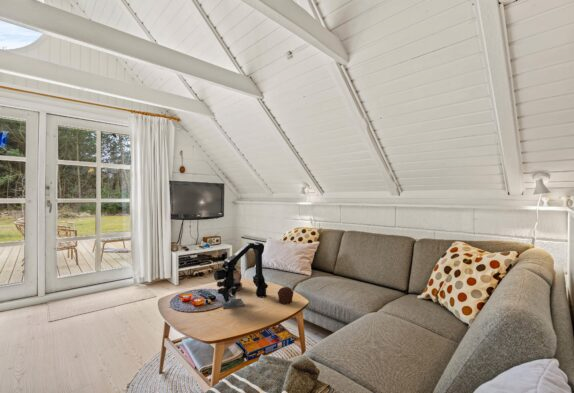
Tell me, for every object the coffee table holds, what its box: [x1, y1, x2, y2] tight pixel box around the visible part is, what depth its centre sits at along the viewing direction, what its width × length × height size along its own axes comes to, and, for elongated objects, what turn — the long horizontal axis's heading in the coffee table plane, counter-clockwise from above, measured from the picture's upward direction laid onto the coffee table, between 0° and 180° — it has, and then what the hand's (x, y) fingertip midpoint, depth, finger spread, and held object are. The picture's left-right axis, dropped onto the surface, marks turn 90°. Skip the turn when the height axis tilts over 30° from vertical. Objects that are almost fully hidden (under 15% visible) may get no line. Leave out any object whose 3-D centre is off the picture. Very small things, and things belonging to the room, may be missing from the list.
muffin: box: [277, 286, 294, 305], centre depth 201 cm, size 12×11×10 cm
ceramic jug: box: [223, 269, 243, 292], centre depth 227 cm, size 18×14×14 cm
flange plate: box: [220, 297, 245, 310], centre depth 197 cm, size 14×12×5 cm
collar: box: [222, 293, 237, 305], centre depth 196 cm, size 6×6×5 cm
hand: (229, 300), depth 196 cm, fingers open, 7 cm apart
